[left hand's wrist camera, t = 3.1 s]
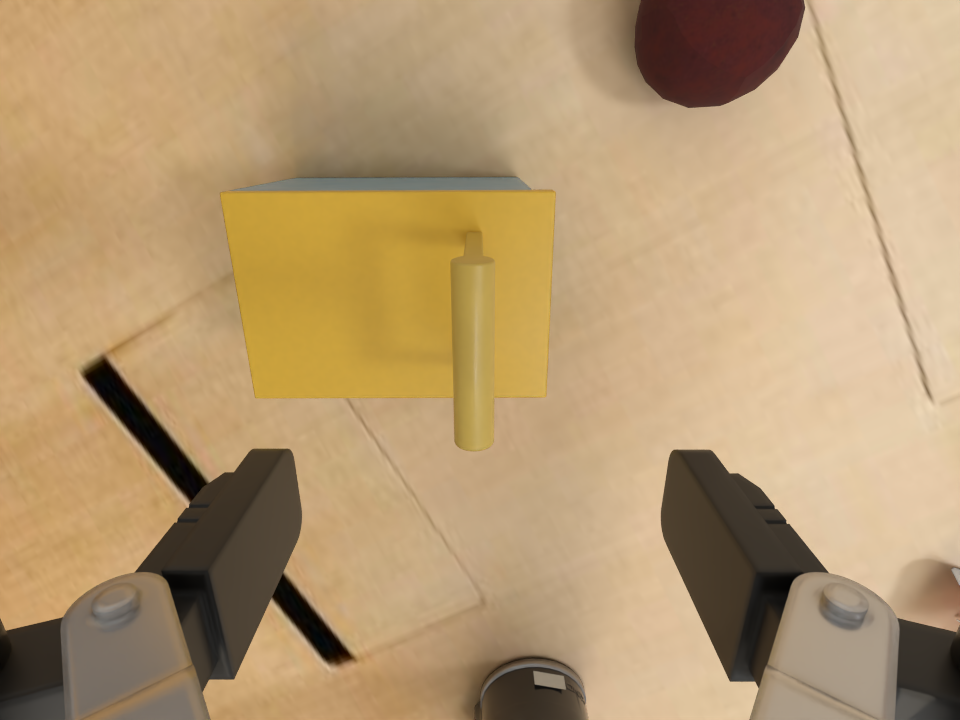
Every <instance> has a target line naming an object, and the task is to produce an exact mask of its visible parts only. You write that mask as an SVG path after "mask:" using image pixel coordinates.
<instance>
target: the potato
mask: <svg viewBox="0 0 960 720" xmlns="http://www.w3.org/2000/svg"><path fill="white" fill-rule="evenodd" d="M804 10H805V5H804V0H641V3H640V6H639V11H638V16H637V21H636V26H635V52H636V58H637V64H638V67H639V69H640V71H641V73H642V75H643V77H644V79H645V82H646V83H647V84H648V85H650V86H651V87H652V88H653V89H654V90H655V91H656V92H657V93H658V94H659V95H660V96H661V97H662V98H663V99H666V100H669V101H671V102H674V103H677V104H680V105H682V106H685V107H688V108H693V107H710V106H721V105H724V104H726V103H729V102H731V101H733V100H735V99H737V98H739V97H741V96H743V95H745V94H747V93H749V92H751V91H753V90H755V89H756V88H757V87H758V86H759V85H760V84H762V83H763V82H764V81H765V80H766V79H767V78H768V77H769V76H771V75H772V74H773V73H774V72H775V71H776V70H777V69H778V67H779V66H780V65H781V63H782V62H783V60H784V59H785V57H786V55H787V54H788V52H789V51H790V49H791V47H792V46H793V44H794V43H795V41H796V40H797V38H798V35H799V31H800V27H801V23H802V18H803V14H804Z"/></svg>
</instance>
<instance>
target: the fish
mask: <svg viewBox="0 0 960 720" xmlns="http://www.w3.org/2000/svg"><path fill="white" fill-rule="evenodd" d="M952 572H953V574H954V576H955V578H956V580H957V582H958V584H959V585H960V569H958V568H952ZM957 621H959V620H957ZM959 622H960V621H959Z"/></svg>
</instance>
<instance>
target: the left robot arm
mask: <svg viewBox="0 0 960 720" xmlns="http://www.w3.org/2000/svg"><path fill="white" fill-rule="evenodd" d="M301 523H302V510H301V502H300V496H299V489H298V482H297V475H296V468H295V462H294V456H293V453H292V451H291V450H290V449H252V450H251V451H250V452H249V453H248V454H247V456H246V457H245V458H244V460H243V461H242V462H241V464H240V465H239V466H238V468H237V469H236V470H235V472H234V473H223V474H222V475H220V476H219V477H218V478H216V479H215V480H213V481H212V482H210V483H209V484H207V485H206V486H204V487H203V488H202V489H201V490H200V492H199V493H198V494H197V495H196V497H195V498H194V499H193V500H192V502H191V503H190V504H189V508H186V509H185V510H184V512H183V513H182V514H181V515H180V517H179V518H178V521H177V523H174V524H173V525H172V527H171V528H170V529H169V530H168V532H167V533H166V534H165V535H164V537H163V538H162V539H161V540H160V542H159V543H158V544H157V545H156V546H155V548H154V549H153V550H152V551H151V553H150V554H149V555H148V556H147V558H146V559H145V560H144V561H143V563H142V564H141V565H140V566H139V568H138V569H137V570H136V571H135V573H130V574H125V575H121V576H118V577H115V578H112V579H110V580H108V581H105V582H103V583H101V584H99V585H97V586H96V587H94V588H92V589H91V590H89V591H88V592H86V593H85V594H84V595H82V596H81V597H80V598H79V599H77V600H76V601H75V602H74V603H73V604H72V605H71V607H70V608H69V609H68V610H67V612H66V613H65V615H64V617H62V618H59V619H54V620H50V621H46V622H42V623H37V624H33V625H29V626H24V627H20V628H16V629H12V630H7V631H5V628H4V626H3V624H2V621H1V619H0V720H211V719H210V716H209V713H208V710H207V706H206V703H205V700H204V697H203V693H202V692H203V690H204V688H205V686H206V684H207V682H208V680H209V679H234V678H235V676H236V674H237V672H238V670H239V667H240V665H241V663H242V661H243V659H244V656H245V654H246V652H247V650H248V648H249V646H250V643H251V641H252V639H253V637H254V635H255V632H256V630H257V628H258V626H259V624H260V622H261V619H262V617H263V615H264V613H265V611H266V608H267V606H268V604H269V602H270V600H271V598H272V595H273V593H274V591H275V589H276V587H277V584H278V582H279V580H280V578H281V576H282V573H283V571H284V569H285V567H286V565H287V563H288V560H289V558H290V556H291V554H292V552H293V549H294V547H295V545H296V543H297V541H298V538H299V534H300V530H301ZM661 526H662V533H663V537H664V540H665V542H666V545H667V547H668V549H669V551H670V553H671V555H672V557H673V560H674V562H675V564H676V566H677V568H678V570H679V573H680V575H681V577H682V579H683V581H684V583H685V586H686V588H687V590H688V592H689V594H690V596H691V598H692V601H693V603H694V605H695V607H696V609H697V611H698V614H699V616H700V618H701V620H702V622H703V624H704V627H705V629H706V631H707V633H708V635H709V637H710V639H711V642H712V644H713V646H714V648H715V650H716V652H717V655H718V657H719V659H720V661H721V663H722V665H723V668H724V670H725V672H726V674H727V676H728V678H729V680H730V681H755V682H756V684H757V686H758V688H759V690H758V693H757V697H756V700H755V703H754V706H753V710H752V713H751V716H750V719H749V720H960V626H959V628H958V630H957V632H953V631H949V630H945V629H940V628H936V627H932V626H927V625H923V624H919V623H915V622H910V621H906V620H902V619H899V618H897V617H896V615H895V613H894V612H893V610H892V609H891V608H890V607H889V605H888V604H887V603H886V602H885V601H884V600H883V599H881V598H880V597H879V596H878V595H876V594H875V593H874V592H872V591H871V590H869V589H868V588H866V587H864V586H863V585H861V584H859V583H857V582H855V581H852V580H850V579H848V578H845V577H842V576H839V575H835V574H830V573H828V571H827V570H826V569H825V568H824V566H823V565H822V564H821V563H820V561H819V560H818V559H817V558H816V556H815V555H814V554H813V553H812V552H811V550H810V549H809V548H808V547H807V545H806V544H805V543H804V542H803V540H802V539H801V538H800V537H799V535H798V534H797V533H796V532H795V531H794V529H793V528H792V527H791V526H790V524H787V523H786V519H785V518H784V517H783V516H782V514H781V513H780V512H779V511H778V510H777V509H775V508H774V505H773V503H772V502H771V501H770V500H769V498H768V497H767V496H766V495H765V493H764V492H763V491H762V490H761V489H760V488H759V487H758V486H756V485H755V484H753V483H752V482H750V481H749V480H747V479H746V478H744V477H743V476H741V475H740V474H729V472H728V471H727V470H726V468H725V467H724V466H723V464H722V463H721V462H720V460H719V459H718V458H717V456H716V455H715V454H714V453H713V451H711V450H673V451H672V452H671V454H670V457H669V461H668V468H667V475H666V481H665V488H664V495H663V501H662V508H661ZM475 720H589V719H588V713H587V708H586V696H585V691H584V687H583V684H582V682H581V680H580V678H579V677H578V676H577V675H576V673H574V672H573V671H572V670H571V669H569V668H568V667H566V666H564V665H562V664H560V663H558V662H555V661H551V660H546V659H522V660H517V661H514V662H511V663H508V664H505V665H503V666H501V667H500V668H498V669H496V670H495V671H494V672H493V673H491V674H490V675H489V677H488V678H487V679H486V680H485V682H484V684H483V686H482V688H481V693H480V702H479V703H478V704H477V705H476V706H475Z"/></svg>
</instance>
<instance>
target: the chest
mask: <svg viewBox="0 0 960 720" xmlns="http://www.w3.org/2000/svg"><path fill="white" fill-rule="evenodd" d="M325 190H532V189H531V188H529V187H528V186H527V185H526V184H525V183H524V182H523V181H522V180H520V179H519V178H518V177H407V178H293V179H287V180H282V181H277V182H272V183H266V184H261V185H256V186H251V187H245V188H240V189H235V190H230V191H325Z"/></svg>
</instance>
